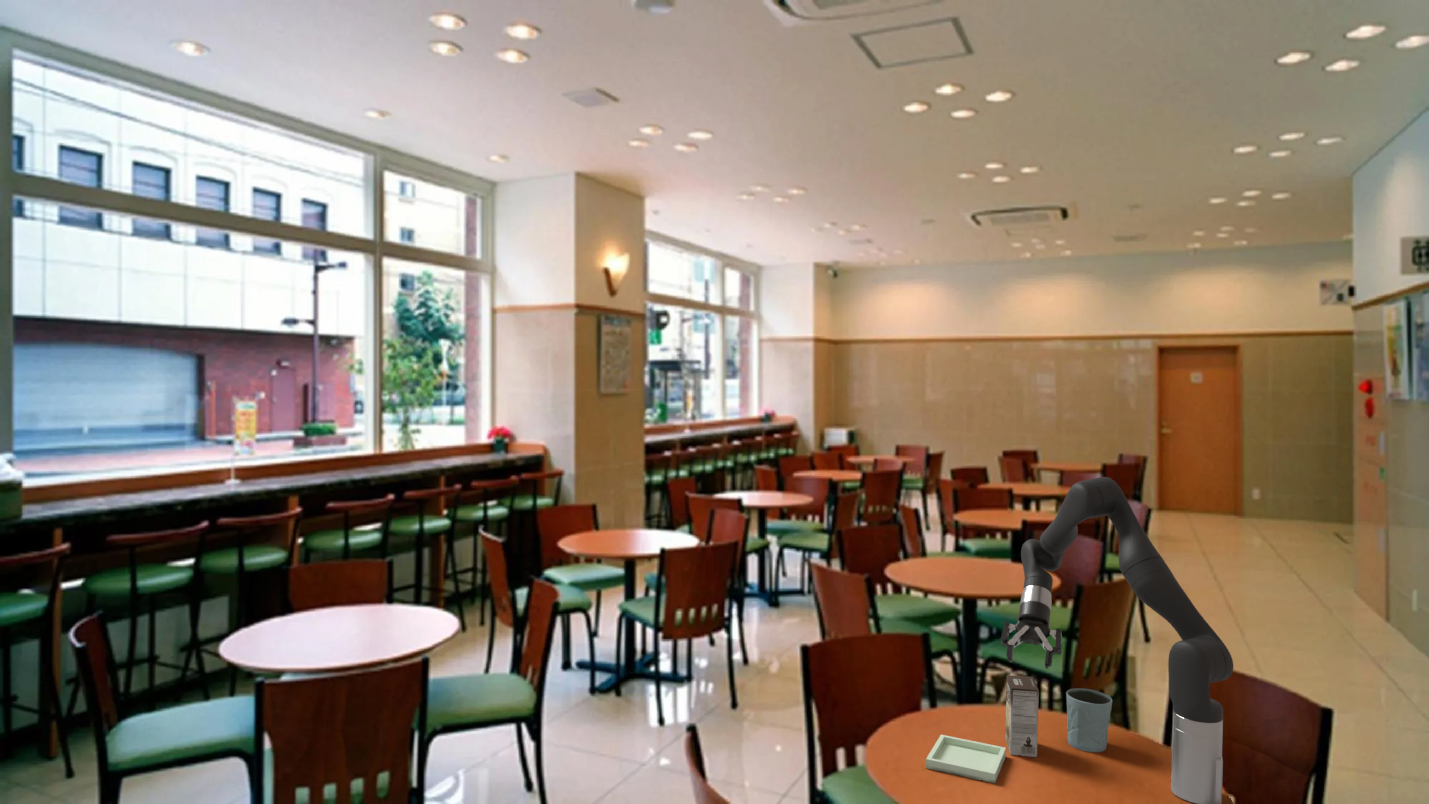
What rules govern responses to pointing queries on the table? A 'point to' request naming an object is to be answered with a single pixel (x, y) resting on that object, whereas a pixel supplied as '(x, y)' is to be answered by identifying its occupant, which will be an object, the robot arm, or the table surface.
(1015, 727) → the coffee box
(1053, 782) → the table surface
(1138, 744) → the table surface
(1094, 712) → the blue-grey cup
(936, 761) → the tray
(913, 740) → the table surface
